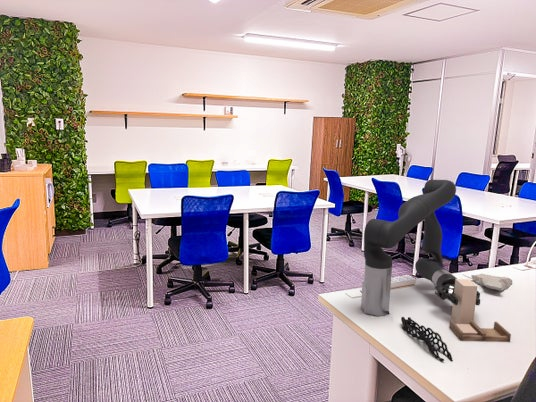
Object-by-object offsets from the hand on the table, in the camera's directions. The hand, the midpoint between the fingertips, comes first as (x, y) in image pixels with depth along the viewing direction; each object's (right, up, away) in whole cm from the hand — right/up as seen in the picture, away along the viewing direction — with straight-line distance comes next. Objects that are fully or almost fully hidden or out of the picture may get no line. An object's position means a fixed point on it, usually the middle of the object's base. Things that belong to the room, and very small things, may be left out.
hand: (467, 302), depth 130 cm
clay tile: (-3, -9, -4) cm, 10 cm away
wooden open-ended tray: (+1, -10, -5) cm, 11 cm away
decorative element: (-18, -11, -9) cm, 23 cm away
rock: (+28, -3, +38) cm, 47 cm away
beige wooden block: (0, -8, +4) cm, 9 cm away
